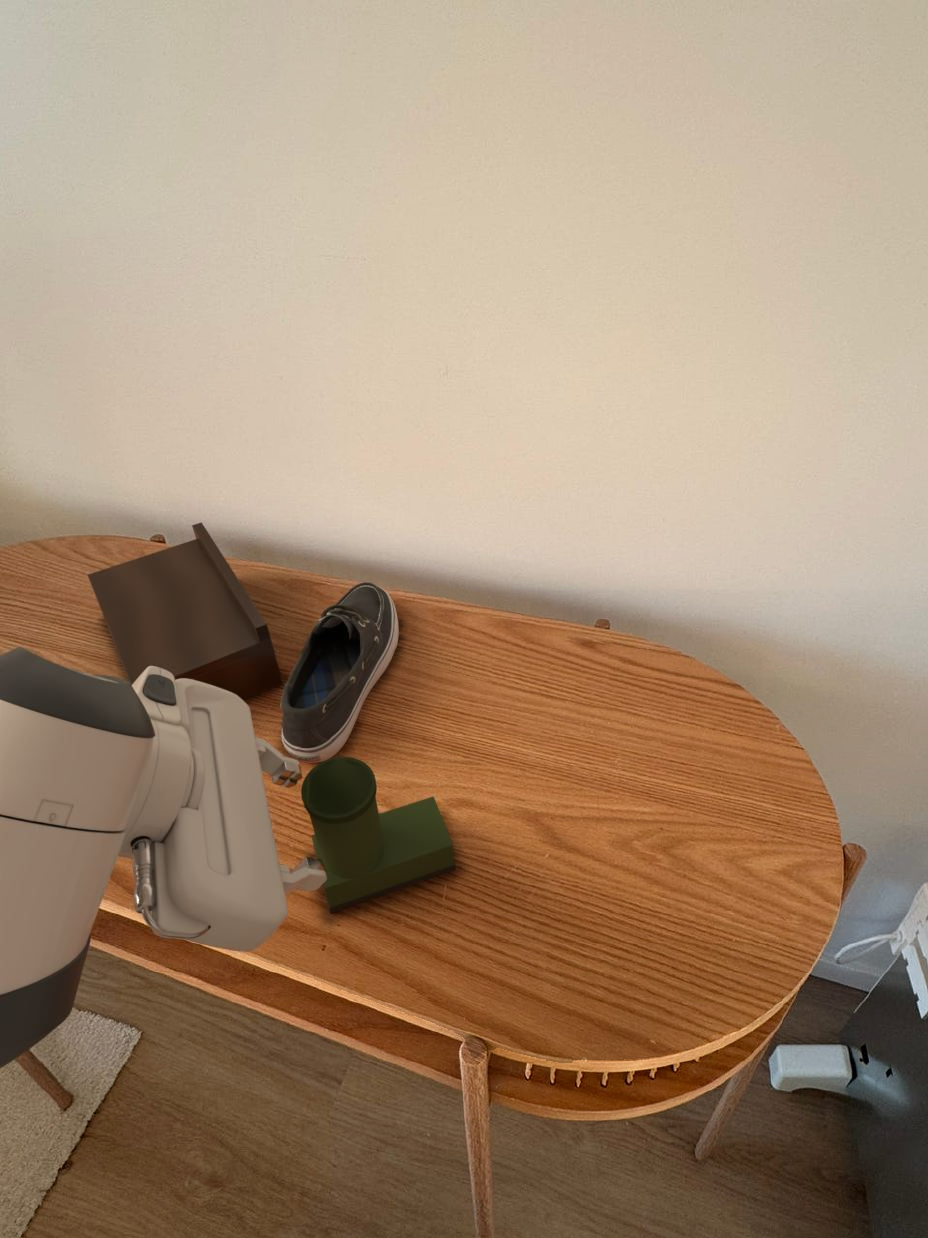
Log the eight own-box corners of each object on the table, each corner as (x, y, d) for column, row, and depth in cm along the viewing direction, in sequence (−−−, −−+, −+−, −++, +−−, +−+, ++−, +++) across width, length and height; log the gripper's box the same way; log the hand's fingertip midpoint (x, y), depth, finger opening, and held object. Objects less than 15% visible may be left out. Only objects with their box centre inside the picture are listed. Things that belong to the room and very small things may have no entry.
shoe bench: (155, 738, 75) (127, 678, 69) (107, 619, 89) (80, 560, 83) (283, 684, 81) (267, 623, 75) (219, 579, 95) (201, 522, 89)
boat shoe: (348, 597, 92) (340, 542, 86) (416, 608, 90) (412, 553, 84) (254, 756, 73) (235, 700, 68) (336, 775, 72) (324, 718, 66)
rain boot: (330, 915, 61) (304, 829, 52) (316, 858, 65) (290, 769, 56) (456, 871, 64) (452, 783, 55) (435, 818, 68) (428, 728, 59)
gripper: (166, 899, 39) (366, 923, 47) (151, 649, 53) (306, 702, 62) (106, 966, 40) (309, 976, 49) (107, 706, 55) (264, 750, 64)
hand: (307, 822), depth 56 cm, fingers open, 8 cm apart
